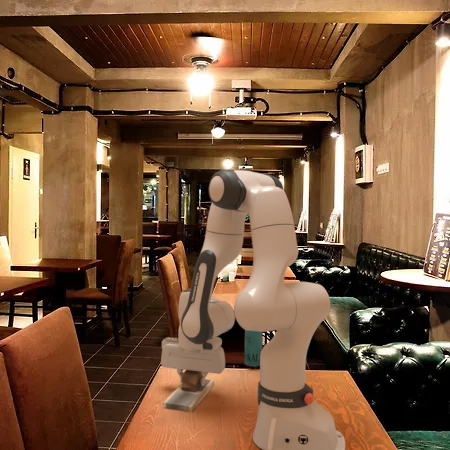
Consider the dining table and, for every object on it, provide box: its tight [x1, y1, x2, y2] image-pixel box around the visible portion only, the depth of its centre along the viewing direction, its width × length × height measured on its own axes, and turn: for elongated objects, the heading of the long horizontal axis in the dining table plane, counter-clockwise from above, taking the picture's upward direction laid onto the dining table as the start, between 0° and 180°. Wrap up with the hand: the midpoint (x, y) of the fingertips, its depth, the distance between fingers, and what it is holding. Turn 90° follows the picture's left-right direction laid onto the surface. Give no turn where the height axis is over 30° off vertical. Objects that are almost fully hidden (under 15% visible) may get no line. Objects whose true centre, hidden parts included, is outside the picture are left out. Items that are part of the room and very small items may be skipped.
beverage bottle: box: [243, 329, 264, 367], centre depth 160 cm, size 6×7×20 cm
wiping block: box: [181, 370, 204, 392], centre depth 139 cm, size 4×7×5 cm, turn 164°
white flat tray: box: [162, 378, 215, 413], centre depth 137 cm, size 9×20×2 cm, turn 163°
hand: (192, 383), depth 139 cm, fingers closed on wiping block, 4 cm apart
